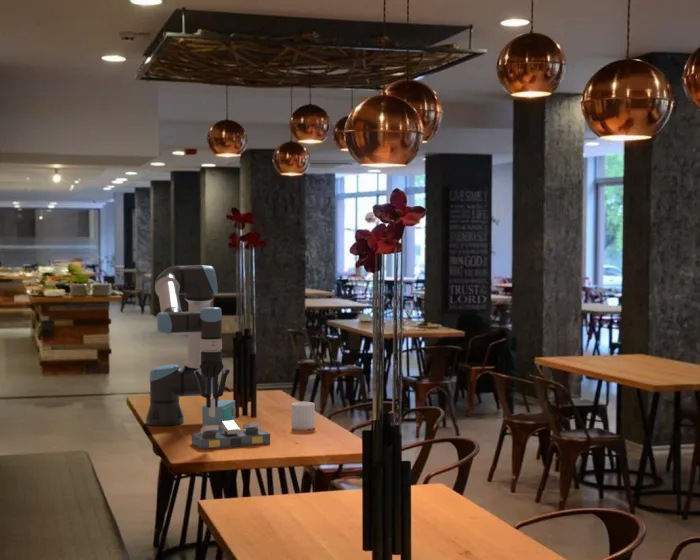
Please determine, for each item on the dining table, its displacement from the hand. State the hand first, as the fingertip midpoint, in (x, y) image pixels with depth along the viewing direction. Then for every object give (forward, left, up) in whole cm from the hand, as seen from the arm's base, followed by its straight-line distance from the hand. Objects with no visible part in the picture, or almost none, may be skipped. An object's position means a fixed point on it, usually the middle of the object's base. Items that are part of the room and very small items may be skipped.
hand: (212, 416), depth 360 cm
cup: (-22, +43, -11) cm, 49 cm away
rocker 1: (-4, 0, -5) cm, 6 cm away
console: (-4, +8, -11) cm, 14 cm away
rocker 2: (-4, +8, -5) cm, 10 cm away
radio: (-24, +10, -12) cm, 28 cm away
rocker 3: (-4, +16, -5) cm, 17 cm away
